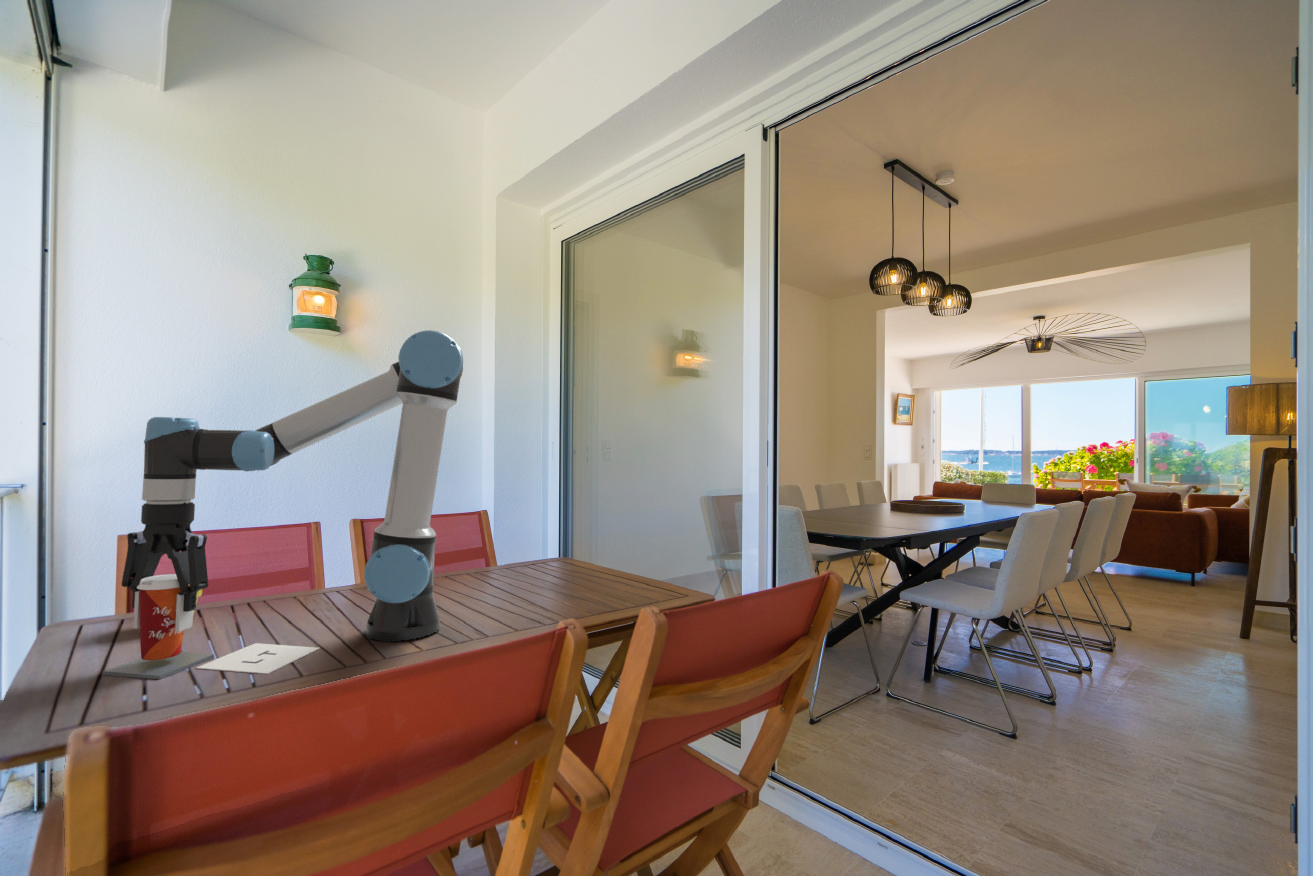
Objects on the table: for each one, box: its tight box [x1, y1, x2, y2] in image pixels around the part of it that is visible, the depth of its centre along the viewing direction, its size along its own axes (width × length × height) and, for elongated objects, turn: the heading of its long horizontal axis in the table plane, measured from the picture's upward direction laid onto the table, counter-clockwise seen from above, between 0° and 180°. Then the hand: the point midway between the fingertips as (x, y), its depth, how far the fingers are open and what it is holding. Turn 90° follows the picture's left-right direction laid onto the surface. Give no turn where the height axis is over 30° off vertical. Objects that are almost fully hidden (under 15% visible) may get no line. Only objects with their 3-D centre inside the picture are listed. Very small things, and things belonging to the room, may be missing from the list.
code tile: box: [195, 642, 321, 675], centre depth 114 cm, size 14×14×1 cm
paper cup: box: [137, 573, 185, 660], centre depth 109 cm, size 8×8×14 cm
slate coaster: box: [102, 651, 215, 680], centre depth 109 cm, size 11×11×1 cm
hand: (163, 627), depth 109 cm, fingers closed on paper cup, 8 cm apart
